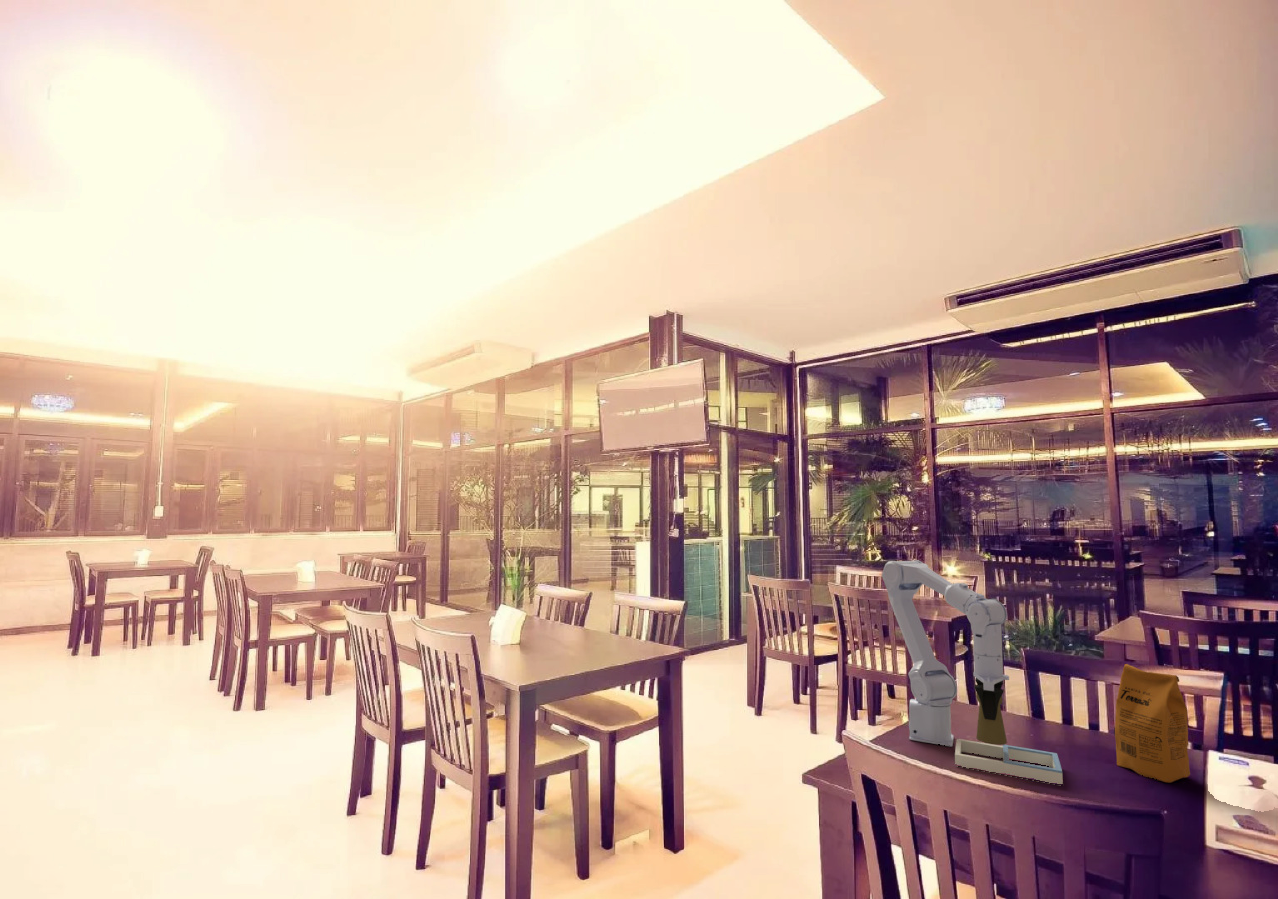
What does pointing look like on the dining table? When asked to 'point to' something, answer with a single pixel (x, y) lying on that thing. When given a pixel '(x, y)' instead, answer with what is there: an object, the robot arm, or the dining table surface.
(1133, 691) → the coffee package
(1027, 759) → the tray
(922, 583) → the robot arm
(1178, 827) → the dining table surface
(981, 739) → the olive tall tapered piece
